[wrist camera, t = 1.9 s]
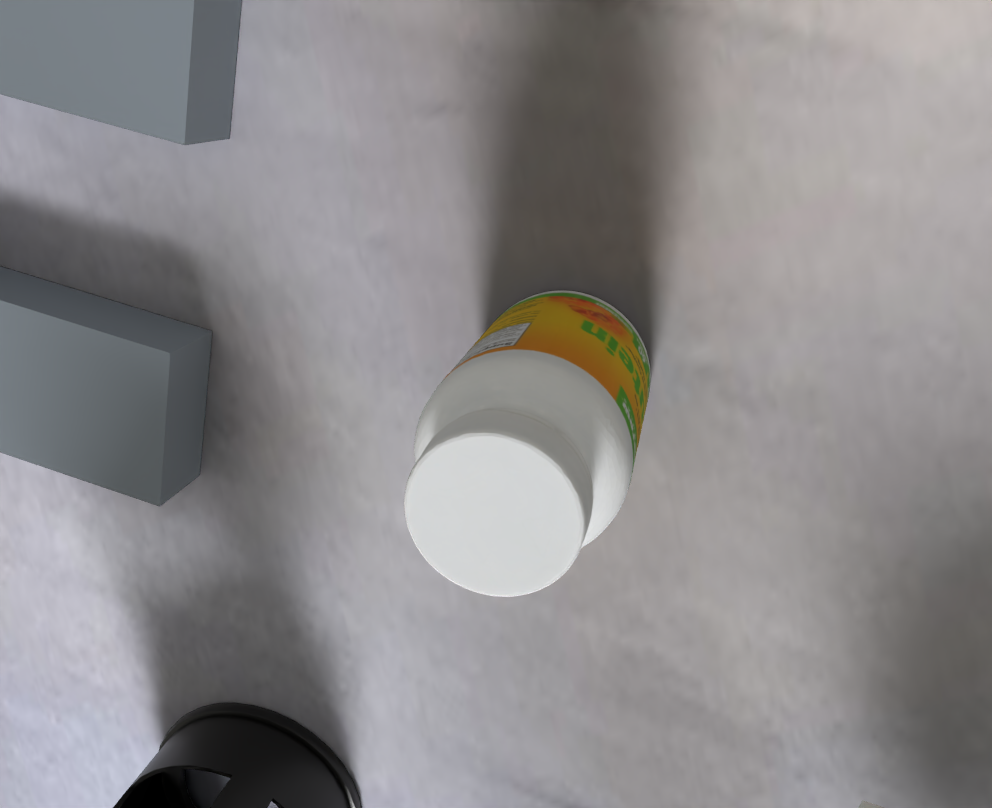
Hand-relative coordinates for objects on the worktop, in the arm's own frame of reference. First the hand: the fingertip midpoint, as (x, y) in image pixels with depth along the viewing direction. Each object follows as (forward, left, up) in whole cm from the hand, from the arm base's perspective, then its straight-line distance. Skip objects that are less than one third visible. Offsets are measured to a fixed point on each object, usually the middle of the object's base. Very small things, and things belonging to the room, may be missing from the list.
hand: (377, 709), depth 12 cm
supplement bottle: (0, 0, -16) cm, 16 cm away
